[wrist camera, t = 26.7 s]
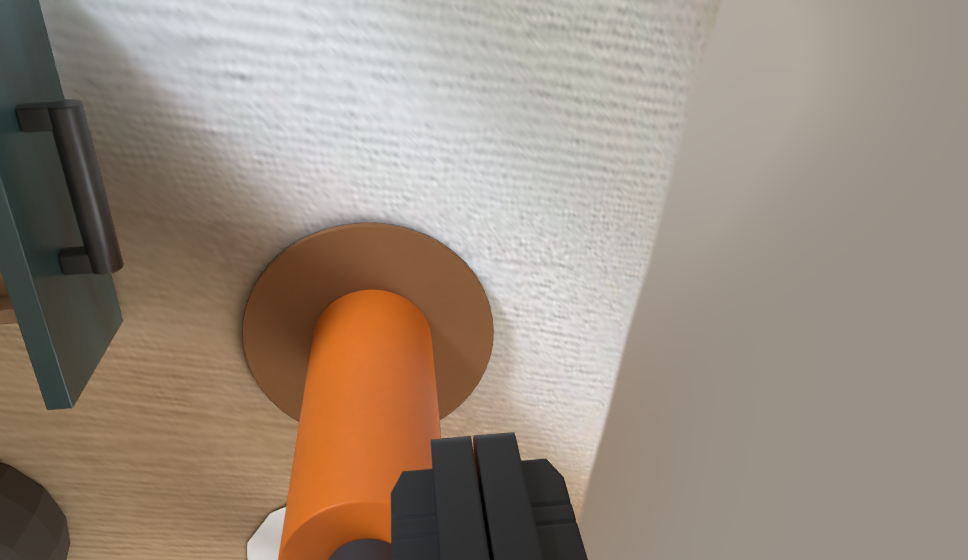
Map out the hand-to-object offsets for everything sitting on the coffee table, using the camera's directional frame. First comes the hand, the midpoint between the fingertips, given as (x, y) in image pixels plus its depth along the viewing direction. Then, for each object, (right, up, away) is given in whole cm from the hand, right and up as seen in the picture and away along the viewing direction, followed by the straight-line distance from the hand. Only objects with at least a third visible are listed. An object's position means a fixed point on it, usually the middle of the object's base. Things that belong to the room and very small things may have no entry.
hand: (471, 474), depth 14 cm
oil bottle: (-5, +1, +21) cm, 22 cm away
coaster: (-5, +1, +22) cm, 22 cm away
